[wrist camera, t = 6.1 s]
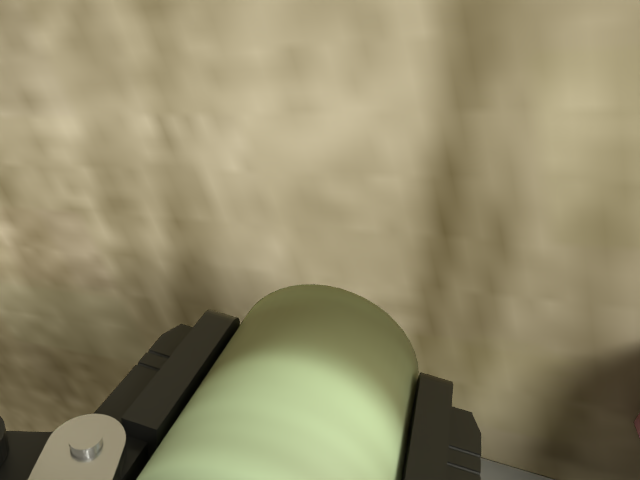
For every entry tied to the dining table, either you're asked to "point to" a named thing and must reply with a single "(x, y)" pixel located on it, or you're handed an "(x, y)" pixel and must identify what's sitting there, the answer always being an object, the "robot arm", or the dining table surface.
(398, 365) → the green cylinder
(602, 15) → the dining table surface
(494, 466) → the bin
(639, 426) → the pink cube
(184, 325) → the robot arm
